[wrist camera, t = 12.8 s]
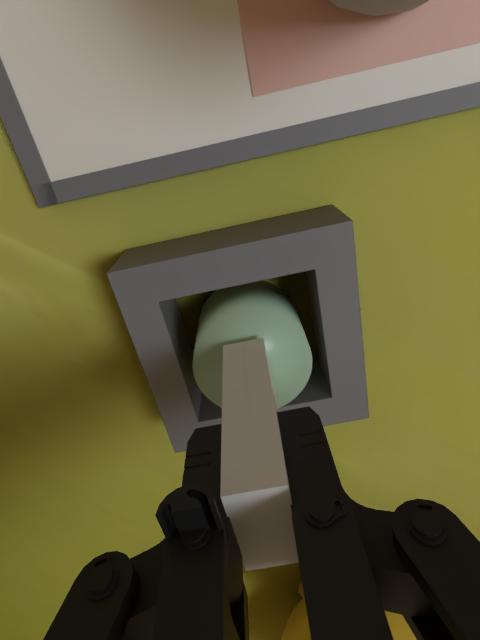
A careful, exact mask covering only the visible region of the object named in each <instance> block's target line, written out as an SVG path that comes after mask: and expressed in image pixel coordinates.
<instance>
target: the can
mask: <svg viewBox="0 0 480 640" xmlns="http://www.w3.org/2000/svg"><path fill="white" fill-rule="evenodd" d="M329 1H330V2H332V3H333V4H334V5H336V6H337V7H339V8H343V9H347V10H351V11H355V12H360V13H364V14H368V15H372V16H377V15H384V14H390V13H397V12H403V11H410V10H413V9H415V8H417V7H418V6H420V5H422V4H424V3H426V2H428V1H430V0H329Z"/></svg>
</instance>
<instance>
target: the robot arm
mask: <svg viewBox="0 0 480 640" xmlns="http://www.w3.org/2000/svg"><path fill="white" fill-rule="evenodd" d="M184 468H185V470H184V474H183V482H182V487H180V488H177V489H176V490H174V491H173V492H171V493H170V494H168V495H167V496H166V497H165V499H164V500H163V501H162V502H161V503H160V505H159V507H158V510H157V512H156V517H157V520H158V522H159V524H160V526H161V528H162V531H163V533H164V535H165V537H166V538H165V539H164V540H163V541H162V542H160V543H159V544H157V545H156V546H154V547H153V548H151V549H149V550H147V551H145V552H143V553H141V554H139V555H137V556H135V557H133V558H131V559H129V558H128V556H127V555H126V554H124V553H121V552H118V551H114V552H106V553H104V554H102V555H100V556H98V557H96V558H94V559H93V560H92V561H91V562H89V563H88V564H87V565H86V566H85V567H84V568H83V569H82V571H81V572H80V574H79V575H78V576H77V578H76V579H75V581H74V583H73V585H72V587H71V589H70V591H69V593H68V594H67V596H66V598H65V600H64V602H63V604H62V606H61V607H60V609H59V611H58V613H57V615H56V617H55V619H54V621H53V622H52V624H51V626H50V628H49V630H48V632H47V634H46V636H45V637H44V639H43V640H249V622H248V600H247V593H246V589H245V585H244V583H243V569H242V562H243V565H244V568H245V571H251V570H257V569H263V568H269V567H276V566H282V565H288V564H294V563H299V566H300V573H301V579H302V585H303V591H304V597H305V604H306V610H307V616H308V622H309V629H310V635H311V640H394V639H393V636H392V633H391V630H390V627H389V624H388V620H387V617H386V614H385V611H388V612H392V613H397V614H401V615H403V617H404V619H405V620H406V622H407V624H408V625H409V627H410V629H411V630H412V632H413V634H414V636H415V637H416V639H417V640H480V542H479V541H478V540H477V538H476V537H475V536H474V535H473V534H472V533H471V532H470V531H469V530H468V529H467V527H466V526H465V525H464V524H463V523H462V522H461V521H460V520H459V519H458V517H457V516H456V515H455V514H453V513H452V512H451V511H450V510H449V509H447V508H446V507H445V506H443V505H441V504H438V503H436V502H434V501H431V500H423V499H415V500H410V501H406V502H404V503H403V504H402V505H400V506H399V507H397V509H396V511H395V512H390V511H382V510H375V509H371V508H367V507H364V506H362V505H360V504H358V503H356V502H355V501H353V500H352V499H351V498H350V497H349V496H348V495H347V494H346V493H345V492H344V489H343V487H342V485H341V483H340V479H339V476H338V473H337V470H336V467H335V463H334V460H333V457H332V454H331V451H330V448H329V444H328V442H327V438H326V435H325V432H324V429H323V425H322V422H321V419H320V416H319V415H318V414H317V413H316V412H315V411H314V410H313V409H311V408H310V407H309V406H308V407H303V408H297V409H292V410H287V411H281V412H278V407H277V401H276V396H275V391H274V386H273V381H272V377H271V372H270V367H269V363H268V358H267V353H266V348H265V344H264V339H263V338H259V339H254V340H249V341H244V342H239V343H234V344H229V345H224V346H223V374H222V424H217V425H212V426H206V427H201V428H196V429H195V430H194V432H193V434H192V435H191V437H190V439H189V440H188V442H187V450H186V459H185V466H184Z"/></svg>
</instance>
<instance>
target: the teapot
mask: <svg viewBox="0 0 480 640" xmlns="http://www.w3.org/2000/svg"><path fill="white" fill-rule="evenodd" d="M298 592H299V593H300V595H301V596H302V597H303V599H302V600H301V601H300V602H299V603H298V604H297V605H296V606H295V607H294V608H293V610H292V612H291V613H290V616H289V618H288V620H287V622H286V624H285V627H284V630H283V633H282V636H281V639H280V640H311V635H310V629H309V622H308V616H307V610H306V604H305V597H304V591H303V585H302V582H301V583H300V585H299V586H298ZM385 614H386V617H387V620H388V624H389V627H390V630H391V633H392V636H393V639H394V640H417V639H416V637H415V636H414V634H413V632H412V630H411V629H410V627H409V625H408V624H407V622H406V620H405V619H404V617H403V615H401V614H397V613H392V612H388V611H385Z"/></svg>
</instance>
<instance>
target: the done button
mask: <svg viewBox="0 0 480 640" xmlns="http://www.w3.org/2000/svg"><path fill="white" fill-rule="evenodd" d="M259 338H263V339H264V344H265V348H266V353H267V358H268V363H269V367H270V372H271V377H272V381H273V386H274V391H275V396H276V401H277V407H278V408H280V407H282V406H284V405H286V404H288V403H289V402H291V401H292V400H293V399H294V398H296V397H297V396H298V395H299V394H300V393H301V391H302V390H303V389H304V387H305V386H306V384H307V382H308V380H309V377H310V375H311V371H312V353H311V349H310V346H309V343H308V341H307V338H306V335H305V332H304V329H303V327H302V324H301V321H300V318H299V316H298V313H297V310H296V308H295V305H294V303H293V302H292V300H291V299H290V297H289V296H288V295H287V294H286V293H285V292H284V291H283V290H281V289H280V288H279V287H277V286H275V285H273V284H271V283H269V282H266V281H262V280H261V281H256V282H251V283H247V284H242V285H237V286H232V287H227V288H223V289H218V290H216V291H215V292H214V293H213V294H212V295H211V296H210V297H209V298H208V299H207V301H206V302H205V304H204V305H203V307H202V310H201V312H200V316H199V322H198V329H197V335H196V342H195V349H194V355H193V373H194V378H195V380H196V383H197V385H198V387H199V388H200V390H201V391H202V392H203V394H204V395H205V396H206V397H207V398H208V399H209V400H210V401H212V402H213V403H214V404H216V405H218V406H220V407H221V408H222V374H223V346H224V345H229V344H234V343H239V342H244V341H249V340H254V339H259Z"/></svg>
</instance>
